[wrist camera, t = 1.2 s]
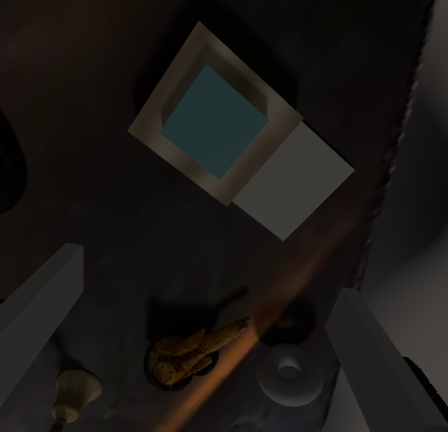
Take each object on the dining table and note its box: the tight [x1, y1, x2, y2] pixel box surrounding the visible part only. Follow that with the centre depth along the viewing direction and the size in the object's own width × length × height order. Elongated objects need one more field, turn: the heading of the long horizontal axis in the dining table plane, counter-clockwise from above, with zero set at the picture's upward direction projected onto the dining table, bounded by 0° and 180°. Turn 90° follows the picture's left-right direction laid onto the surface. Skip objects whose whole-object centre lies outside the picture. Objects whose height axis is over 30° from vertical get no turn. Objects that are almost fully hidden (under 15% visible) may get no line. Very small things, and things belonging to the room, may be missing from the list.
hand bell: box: [50, 369, 102, 432], centre depth 45 cm, size 8×8×16 cm
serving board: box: [128, 21, 304, 207], centre depth 32 cm, size 14×13×4 cm
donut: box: [256, 343, 324, 407], centre depth 43 cm, size 10×4×10 cm, turn 96°
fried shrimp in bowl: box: [144, 316, 251, 393], centre depth 43 cm, size 9×11×18 cm
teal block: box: [159, 64, 269, 180], centre depth 30 cm, size 8×8×2 cm
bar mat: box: [232, 121, 354, 241], centre depth 37 cm, size 10×13×1 cm
